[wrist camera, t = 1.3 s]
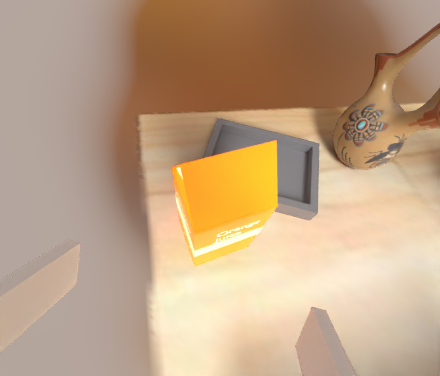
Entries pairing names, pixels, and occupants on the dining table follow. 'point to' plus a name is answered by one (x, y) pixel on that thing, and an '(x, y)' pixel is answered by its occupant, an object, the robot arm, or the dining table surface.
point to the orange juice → (226, 199)
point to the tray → (286, 164)
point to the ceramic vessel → (383, 114)
